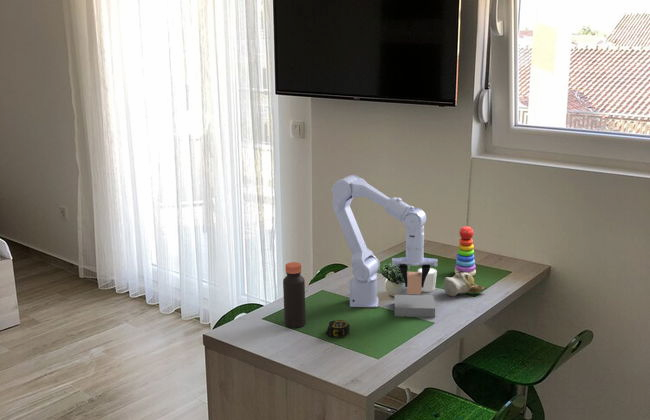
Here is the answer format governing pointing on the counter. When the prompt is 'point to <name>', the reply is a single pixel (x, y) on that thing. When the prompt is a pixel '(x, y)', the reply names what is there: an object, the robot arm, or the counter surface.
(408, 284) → the terracotta block
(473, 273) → the stacking toy
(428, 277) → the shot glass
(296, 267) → the bottle
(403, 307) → the plinth
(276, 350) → the counter surface
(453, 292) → the ceramic sculpture
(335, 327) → the tape measure
